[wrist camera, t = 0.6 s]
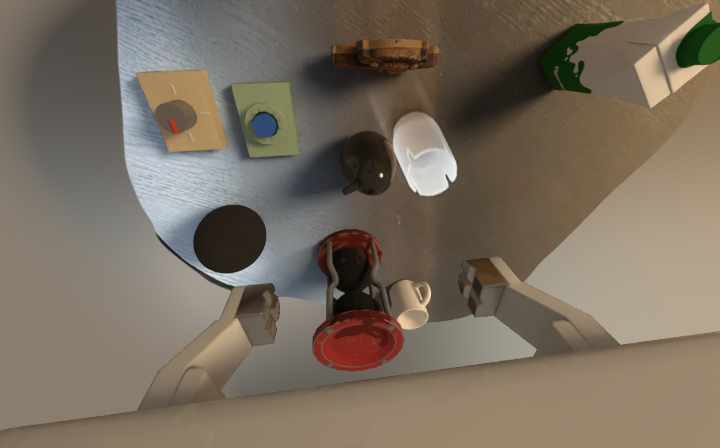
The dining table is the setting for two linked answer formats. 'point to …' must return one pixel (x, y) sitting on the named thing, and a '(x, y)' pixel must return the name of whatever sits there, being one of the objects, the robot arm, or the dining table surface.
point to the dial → (176, 116)
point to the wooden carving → (385, 55)
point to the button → (264, 125)
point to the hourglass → (355, 306)
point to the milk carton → (635, 55)
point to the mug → (410, 303)
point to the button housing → (275, 103)
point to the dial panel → (198, 95)
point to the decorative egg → (229, 239)
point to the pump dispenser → (367, 163)
